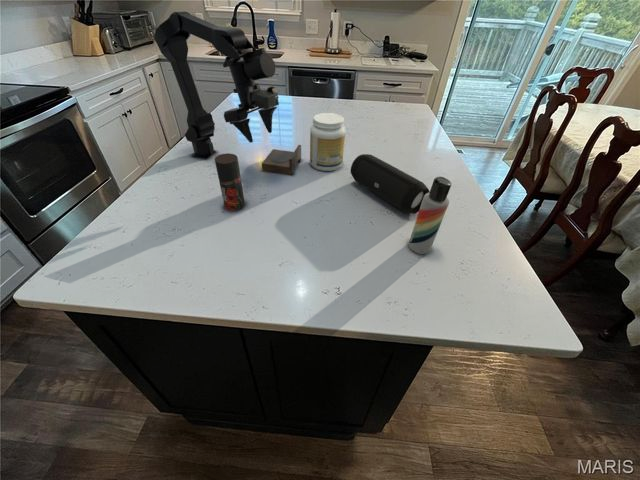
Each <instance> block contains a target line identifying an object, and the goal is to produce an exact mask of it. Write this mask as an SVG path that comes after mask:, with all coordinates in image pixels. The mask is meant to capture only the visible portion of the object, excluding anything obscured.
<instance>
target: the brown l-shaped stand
mask: <svg viewBox="0 0 640 480" xmlns="http://www.w3.org/2000/svg"><path fill="white" fill-rule="evenodd" d="M301 161H302V144H298V145H297V146H296V148H295V149H294V151H291V150H284V149H283V150H282V149H276V148H273V149H271V151H270V153H268V155H267V156H266V157H265V158H264V160H263V161H262V162H261V170H262V172H267V173H271V174H272V173H273V174H280V175H285V176H293V175H294V173H295V171H294V170H295V167H296V165H297V164H298V163H301Z"/></svg>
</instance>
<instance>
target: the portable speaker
mask: <svg viewBox="0 0 640 480" xmlns="http://www.w3.org/2000/svg"><path fill="white" fill-rule="evenodd" d="M350 174H351V176H352V178H353V179H354V181H355V182H356V183H357V184H359V185H361V186H362V187H364V188H366V189H367V190H369V191H370V192H372V193H373V194H375V195H376V196H378V197H379V198H381V199H383V200H384V201H386V202H387V203H389V204H391V205H392V206H394V207H395V208H397V209H398V210H400V211H401V212H403V213H406V214H412V215H414V214H418V213H419V210H420V207H421V204H422V201H423V198H424V195H425V194H427V193H430V189H429V188H428V186H427V185H426V184H425V183H424V182H422V181H421V180H419V179H418V178H416V177H414V176H412V175H410V174H408V173H406V172H404V171H402V170H400V169H399V168H397V167H395V166H393V165H391V164H390V163H388V162H386V161H384V160H382V159H380V158H379V157H377V156H375V155H372V154H369V153H368V154H367V153H362V154H359V155H358V156H357V157H355V158H354V160H353V161H352V163H351V166H350Z"/></svg>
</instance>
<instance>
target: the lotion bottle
mask: <svg viewBox="0 0 640 480" xmlns="http://www.w3.org/2000/svg"><path fill="white" fill-rule="evenodd" d="M452 185H453V183H452V182H451V180H449V178H446V177H444V176H436V177H435V178H434V179H433V181H432V184H431V187H430V189H429V191H430V193H427V194H425V195H424V198H423V201H422V204H421V207H420V210H419V211H418V212H417V216H416V219H415V223H414V225H413V228H412V232H411V234H410V238H409V241H408V247H409V249H410V250H411V251H412V252H414V253H416V254H419V255H425V254H428V253H430V251H431V250H432V247H433V245H434V242H435V240H436V238H437V235H438V232H439V230H440V227H441V225H442V222H443V220H444V217H445V215H446V212H447V210H448V207H449V204H450V199H449V198H448V195H449V193H450V190H451V187H452Z"/></svg>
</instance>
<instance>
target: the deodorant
mask: <svg viewBox="0 0 640 480" xmlns="http://www.w3.org/2000/svg"><path fill="white" fill-rule="evenodd" d="M214 163H215V168H216V169H215V170H216V172H217V176H218V182H219V187H220V191H221V196H222V200H223V205H224V208H225V209H226V210H227V211H231V212H236V211H241V210H242V209H244V207H245V206H246V202H245V195H244V190H243V189H244V188H243V183H242V177H241V171H240V164H239V157H238V156H237V155H236V154H234V153H221V154H218V155H216V156H215V157H214Z"/></svg>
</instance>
